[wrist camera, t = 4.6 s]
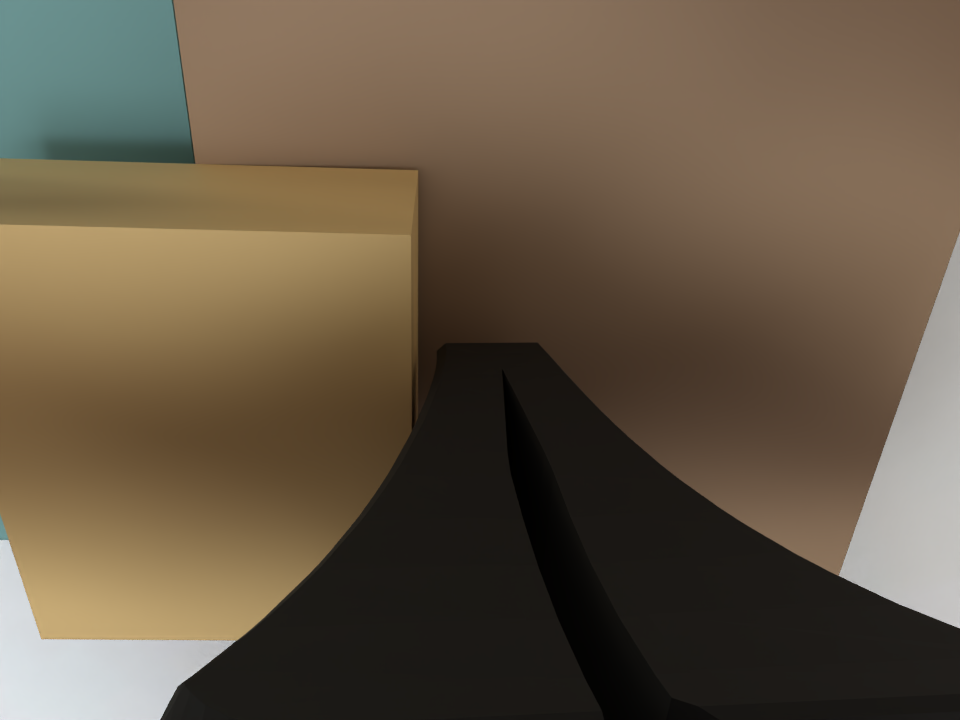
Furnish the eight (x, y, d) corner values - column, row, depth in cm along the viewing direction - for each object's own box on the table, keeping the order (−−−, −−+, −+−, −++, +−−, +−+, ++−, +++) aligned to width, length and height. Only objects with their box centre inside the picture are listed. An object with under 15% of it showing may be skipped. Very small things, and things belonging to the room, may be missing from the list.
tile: (417, 539, 13) (412, 641, 12) (94, 536, 13) (41, 639, 12) (418, 170, 10) (410, 234, 9) (-4, 158, 10) (-96, 221, 8)
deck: (735, 739, 20) (758, 801, 18) (293, 762, 19) (286, 830, 17) (1088, -407, 9) (1196, -445, 8) (145, -480, 8) (101, -536, 7)
